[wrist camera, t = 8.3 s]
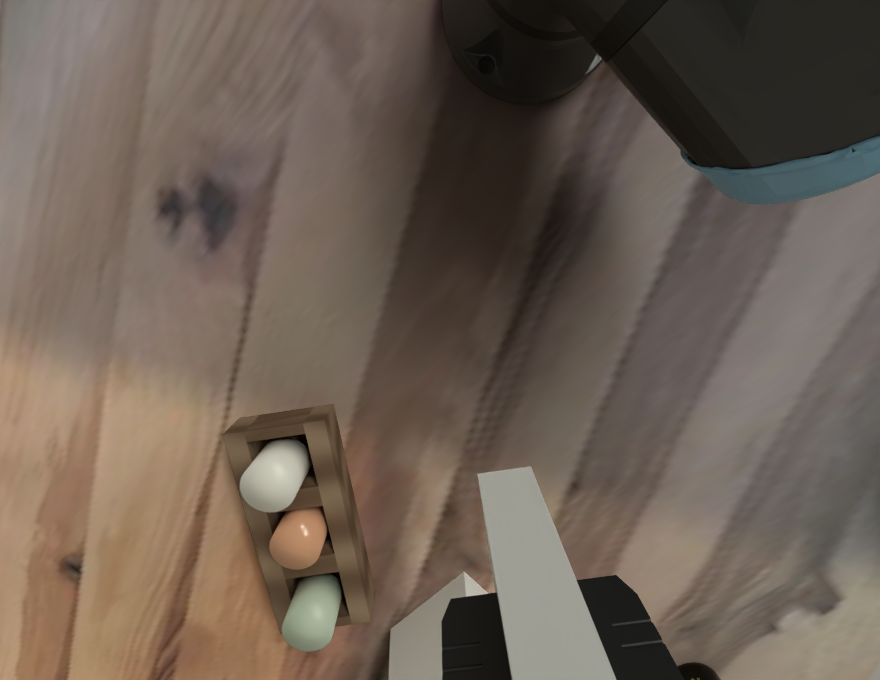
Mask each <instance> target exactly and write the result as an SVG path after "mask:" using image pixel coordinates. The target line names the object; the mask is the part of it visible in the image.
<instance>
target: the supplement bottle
mask: <svg viewBox="0 0 880 680" xmlns="http://www.w3.org/2000/svg"><path fill="white" fill-rule="evenodd" d="M678 669H679V671H680V673H681V675H682V676H683V678H684V680H721V679H720V678H719V676H718V675H717V674H716V672H715V671H714V670H713V669H711V668H710V667H708V666H706V665H704V664H700V663H688V664H684V665H682V666H680V667H678Z"/></svg>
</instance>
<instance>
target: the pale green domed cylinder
mask: <svg viewBox="0 0 880 680" xmlns="http://www.w3.org/2000/svg"><path fill="white" fill-rule="evenodd" d="M342 596H343V587H342V584H341V582H340V581H339V580H338V578H336V577H335V576H334V575H332V574H330V573H326V574H319V575H312V576H304V577H302V578H301V580H300V581H299V583H298V585H297V588H296V591H295V593H294V596H293V598H292V601H291V604H290V606H289V609H288V612H287V614H286V617H285V619H284V622H283V625H282V635H283V637H284V639H285V641H286V642H287V643H288V644H289V645H290V646H292V647H293V648H295V649H298V650H301V651H317V650H320V649H322V648H324V647H325V646H326V645H327V644H328V643H329V642H330V641H331V639H332V636H333V632H334V628H335V624H336V620H337V616H338V612H339V608H340V604H341V600H342Z"/></svg>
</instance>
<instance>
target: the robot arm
mask: <svg viewBox="0 0 880 680" xmlns="http://www.w3.org/2000/svg"><path fill="white" fill-rule="evenodd" d="M442 16H443V24H444V30H445V34H446V38H447V41H448V44H449V47H450V49H451V52H452V54H453V56H454V58H455V60H456V61H457V63H458V65H459V66H460V68H461V69H462V70H463V72H464V73H465V74H466V75H467V77H468V78H469V79H470V80H471V81H472V82H473V83H474V84H476V85H477V86H478V87H479V88H480V89H482V90H483V91H485V92H486V93H488V94H490V95H492V96H494V97H496V98H498V99H501V100H504V101H507V102H511V103H517V104H536V103H542V102H547V101H550V100H553V99H556V98H558V97H560V96H562V95H564V94H566V93H568V92H570V91H571V90H573V89H574V88H576V87H577V86H578V85H579V84H581V83H582V82H583V81H584V80H585V79H586V78H587V77H588V76H589V75H590V74H591V73H592V72H593V71H594V70H595V69H596V68H597V67H598V66H599V64H600V63H601V62H602V61H603V60H604V61H605V63H606V65H607V66H608V67H609V68H610V69H611V70H612V72H613V73H614V74H615V75H616V76H617V77H618V78H619V80H620V81H621V82H622V83H623V84H624V85H625V86H626V88H627V89H628V90H629V91H630V92H631V93H632V95H633V96H634V97H635V98H636V99H637V100H638V101H639V103H640V104H641V105H642V106H643V107H644V108H645V109H646V111H647V112H648V113H649V114H650V115H651V116H652V117H653V119H654V120H655V121H656V122H657V123H658V124H659V126H660V127H661V128H662V129H663V130H664V131H665V132H666V134H667V135H668V136H669V137H670V138H671V139H672V140H673V142H674V143H675V144H676V145H677V146H678V147H679V149H680V150H681V156H682V157H683V159H684V160H685V161H686V162H687V163H688V165H690V166H691V167H693V168H695V169H697V170H699V171H700V172H701V173H702V174H703V175H704V176H705V177H706V178H707V179H708V180H709V181H710V182H711V183H712V184H713V185H714V186H715V187H716V188H717V189H718V190H719V191H720V192H721V193H723V194H724V195H726V196H727V197H729V198H732V199H737V200H739V201H741V202H746V203H749V204H779V203H787V202H793V201H798V200H803V199H807V198H811V197H815V196H819V195H822V194H825V193H829V192H832V191H835V190H838V189H841V188H844V187H846V186H849V185H852V184H854V183H857V182H859V181H862V180H864V179H867V178H869V177H871V176H874V175H876V174H878V173H880V0H442ZM478 481H479V488H480V495H481V502H482V508H483V515H484V522H485V529H486V536H487V543H488V549H489V556H490V562H491V568H492V574H493V580H494V587H495V593H490V594H482V595H475V596H467V597H460V598H452V599H450V602H449V604H448V607H447V609H446V611H445V614H444V616H443V619H442V621H441V626H442V672H443V674H442V680H684V678H683V676H682V675H681V673H680V671H679V669H678V667H677V665H676V664H675V662H674V660H673V658H672V656H671V655H670V653H669V651H668V649H667V647H666V646H665V644H663V642H662V638H661V636H660V635H659V633H658V631H657V629H656V627H655V626H654V624H653V623H652V622H651V619H650V617H649V615H648V613H647V611H646V609H645V607H644V606H643V604H642V602H641V600H640V598H639V597H638V595H637V593H635V592H634V591H633V590H632V589H631V588H630V587H629V586H628V585H627V584H625V583H624V582H623V581H622V580H621V579H620V578H619V577H618V576H616V575H613V576H606V577H598V578H591V579H583V580H576V578H575V575H574V573H573V570H572V568H571V565H570V563H569V560H568V558H567V555H566V553H565V550H564V548H563V545H562V543H561V540H560V538H559V535H558V533H557V530H556V528H555V525H554V523H553V520H552V518H551V515H550V513H549V510H548V508H547V505H546V503H545V500H544V498H543V495H542V493H541V491H540V488H539V486H538V483H537V481H536V478H535V476H534V473H533V471H532V468H531V466H530V467H522V468H515V469H508V470H501V471H494V472H487V473H480V474H478Z"/></svg>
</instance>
